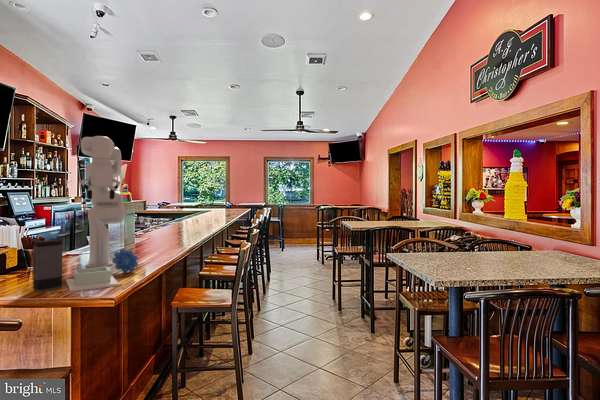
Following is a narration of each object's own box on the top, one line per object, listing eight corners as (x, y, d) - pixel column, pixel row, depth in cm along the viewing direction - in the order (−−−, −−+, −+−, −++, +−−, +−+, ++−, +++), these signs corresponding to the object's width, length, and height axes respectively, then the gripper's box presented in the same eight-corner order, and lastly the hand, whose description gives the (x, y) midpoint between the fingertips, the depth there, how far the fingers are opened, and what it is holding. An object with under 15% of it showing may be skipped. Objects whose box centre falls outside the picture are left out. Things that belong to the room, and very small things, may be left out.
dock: (66, 281, 165) (66, 268, 165) (111, 276, 176) (111, 264, 175) (69, 291, 150) (69, 276, 150) (118, 285, 161) (118, 271, 161)
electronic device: (57, 285, 159) (57, 238, 159) (63, 287, 156) (63, 240, 155) (31, 289, 152) (32, 240, 151) (37, 292, 148) (38, 242, 148)
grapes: (112, 275, 178) (112, 250, 178) (112, 272, 184) (112, 248, 184) (138, 273, 183) (138, 249, 183) (137, 270, 189) (138, 247, 189)
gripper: (116, 164, 185) (116, 198, 185) (78, 161, 172) (77, 198, 172) (123, 163, 180) (123, 199, 180) (84, 161, 167) (83, 199, 167)
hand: (100, 199), depth 176 cm, fingers open, 9 cm apart
